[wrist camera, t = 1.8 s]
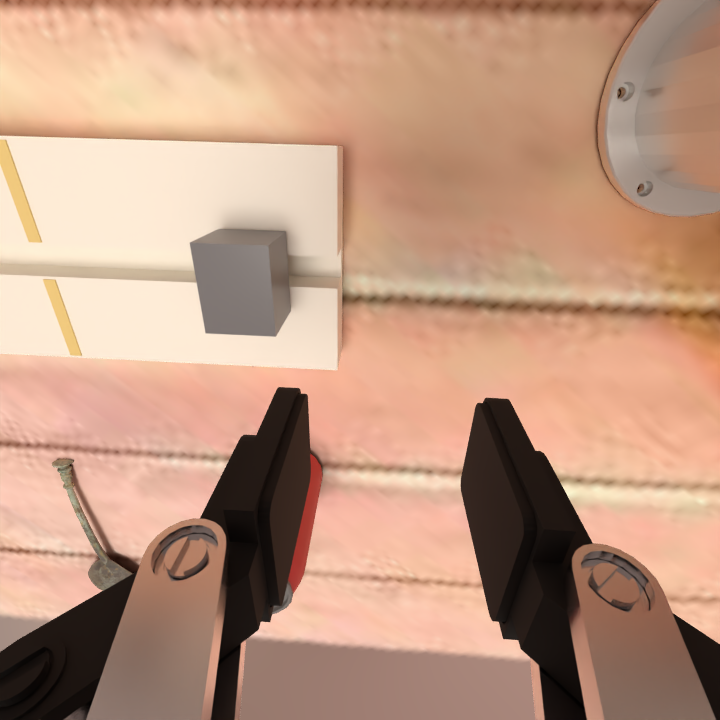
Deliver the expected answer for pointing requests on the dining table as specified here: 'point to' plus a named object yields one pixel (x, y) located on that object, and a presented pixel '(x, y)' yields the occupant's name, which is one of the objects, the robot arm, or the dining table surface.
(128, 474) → the dining table surface
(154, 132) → the dining table surface
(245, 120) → the dining table surface
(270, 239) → the fader knob
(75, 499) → the soupspoon
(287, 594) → the beer can
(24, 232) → the slider console
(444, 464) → the dining table surface
